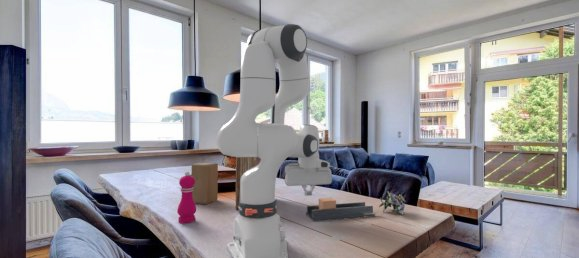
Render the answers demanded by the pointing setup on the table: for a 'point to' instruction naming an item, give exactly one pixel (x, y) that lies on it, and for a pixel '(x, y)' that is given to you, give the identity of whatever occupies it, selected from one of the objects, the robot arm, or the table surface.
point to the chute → (339, 211)
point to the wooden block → (205, 182)
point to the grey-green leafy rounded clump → (394, 203)
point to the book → (243, 171)
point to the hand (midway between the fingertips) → (308, 195)
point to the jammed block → (327, 203)
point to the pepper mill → (187, 200)
